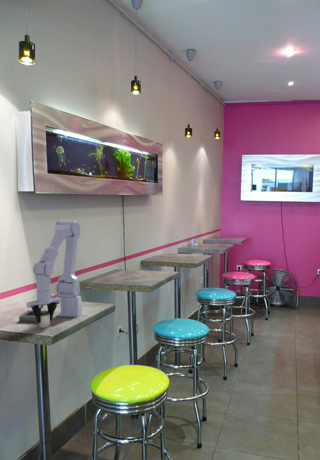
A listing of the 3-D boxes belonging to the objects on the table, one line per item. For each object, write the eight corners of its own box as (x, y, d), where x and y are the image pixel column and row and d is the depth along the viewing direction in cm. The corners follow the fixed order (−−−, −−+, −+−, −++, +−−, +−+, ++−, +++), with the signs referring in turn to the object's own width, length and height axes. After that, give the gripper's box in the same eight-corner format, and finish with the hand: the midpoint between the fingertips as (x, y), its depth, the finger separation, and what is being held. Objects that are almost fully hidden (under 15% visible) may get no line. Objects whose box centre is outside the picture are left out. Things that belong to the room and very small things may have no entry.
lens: (51, 324, 182) (51, 311, 182) (47, 328, 177) (47, 314, 177) (41, 324, 182) (40, 310, 182) (37, 327, 178) (36, 313, 177)
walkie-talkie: (45, 299, 228) (39, 309, 208) (44, 291, 228) (39, 300, 208) (61, 298, 229) (57, 308, 210) (61, 290, 229) (57, 299, 209)
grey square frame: (49, 316, 195) (49, 310, 194) (41, 322, 185) (41, 317, 184) (28, 315, 195) (28, 310, 195) (19, 322, 185) (19, 316, 185)
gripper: (55, 286, 186) (55, 316, 187) (23, 290, 177) (24, 322, 178) (62, 288, 181) (63, 319, 182) (30, 293, 172) (30, 326, 173)
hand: (44, 321), depth 180 cm, fingers closed on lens, 5 cm apart
